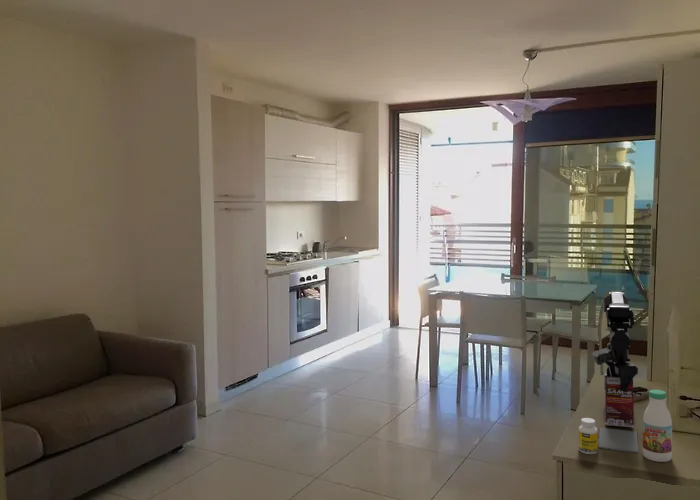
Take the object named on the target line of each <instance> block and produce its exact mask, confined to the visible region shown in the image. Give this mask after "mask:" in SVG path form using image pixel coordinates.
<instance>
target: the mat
mask: <svg viewBox="0 0 700 500" xmlns="http://www.w3.org/2000/svg"><path fill="white" fill-rule="evenodd" d="M598 438H599V439H598V440H599V441H598V449H600V448H604V449H603V450H608V449H610V450H609V451H618V452H623V453H624V452H626V453H631V454H632V453H633V454H634V453H635V454H639V444H638V432H637V431H632V430H631V431H630V430H625V429H624V430H622V429H615V428H614V429H613V428H605V427H599V437H598Z"/></svg>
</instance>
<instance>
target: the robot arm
mask: <svg viewBox="0 0 700 500" xmlns="http://www.w3.org/2000/svg"><path fill="white" fill-rule="evenodd" d="M603 313H605V318H606V327H607V328H608V329H609V342H608V343H607V344H606V347H605V348H601V349H599V350H595V351H593V352H591V356H592V358H593V361H594V363H595V364H597V365H598V366H601V365H603V364H606V365H607V368H606V370H605V371H606V372H605V373H604V374H603V375H604V378H603V379H604V380H603V386H604V387H603V388H604V391H605V377H619V378H620V384H621V390H622V391H626V389H627V388H628V386H629V384H630V382H631V381H632V379H633V380H634V378H635V377H636V376H637V375H638V374H639V368H638V367H637V366H636V365H635V364H634V363H632V362H631V358H630V356H629V350H631V346H630V345H631V338H630V335H629V330H631V329H633V326H635V317H634V316H635V315H634V312H633V309H632V308H630V305H629V298H627V297H626V296H625V292H622V291H610V292H609V294H608V295H607V296H606V297H605V298H603Z"/></svg>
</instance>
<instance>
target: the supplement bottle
mask: <svg viewBox="0 0 700 500" xmlns="http://www.w3.org/2000/svg"><path fill="white" fill-rule="evenodd" d="M580 422H581V423H580V424H581V425H579V427H578V450H579V451H580V452H581V453H582V454H586V455H595V454H597V453H598V446H599V441H598V440H599V439H598V438H599V437H598V435H599V434H598V428H597V427H596V420H595V419H594V418H591V417H582V418H581V419H580Z"/></svg>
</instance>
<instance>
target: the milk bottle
mask: <svg viewBox="0 0 700 500" xmlns="http://www.w3.org/2000/svg"><path fill="white" fill-rule="evenodd" d="M648 396H649V397H648V399H649V401H648V405H647V407H646V409H645V411H644V413H643V419H642V455H643V457H644V458H645V459H647V460H650V461H652V462H657V463H658V462H659V463H667V462H669V461H671V460H672V458H673V420H672V415H671V413H670V411H669V409H668V406H667V403H666V401H667V392H666V391H664V390H661V389H650V390H649V392H648Z"/></svg>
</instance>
